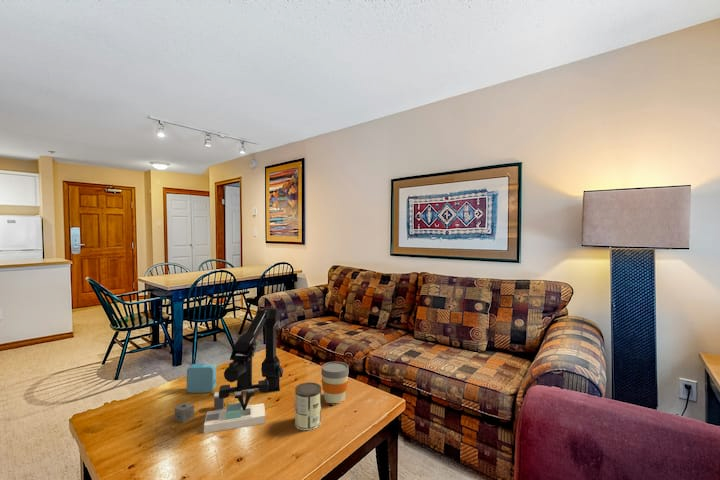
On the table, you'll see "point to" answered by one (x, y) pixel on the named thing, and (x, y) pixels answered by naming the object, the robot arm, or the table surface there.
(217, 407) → the white rectangular block
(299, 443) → the table surface
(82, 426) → the table surface
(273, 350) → the robot arm
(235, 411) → the block
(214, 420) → the socket strip
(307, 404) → the coffee can
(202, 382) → the data package
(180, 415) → the dice cube
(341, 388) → the reusable coffee cup
